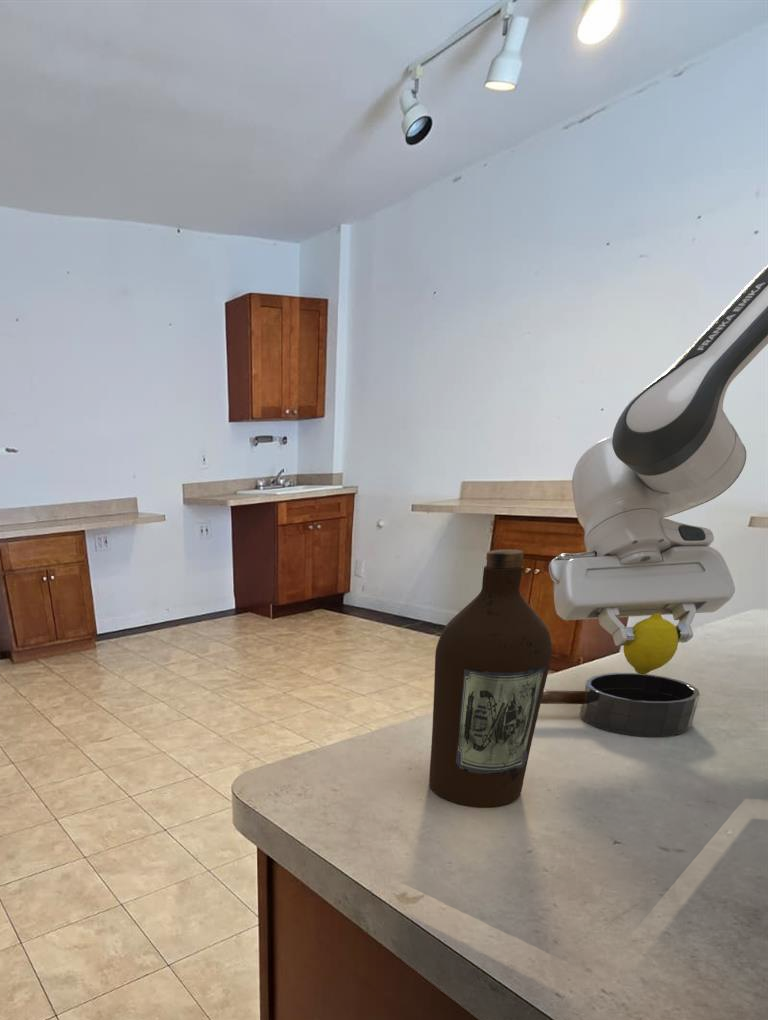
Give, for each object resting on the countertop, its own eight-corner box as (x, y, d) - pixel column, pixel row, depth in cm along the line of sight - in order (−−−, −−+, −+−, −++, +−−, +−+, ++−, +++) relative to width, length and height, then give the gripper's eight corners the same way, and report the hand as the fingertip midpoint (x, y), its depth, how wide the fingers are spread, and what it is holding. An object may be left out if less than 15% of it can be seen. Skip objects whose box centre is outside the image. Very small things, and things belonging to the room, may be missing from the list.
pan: (666, 704, 88) (674, 672, 86) (708, 738, 77) (719, 703, 76) (568, 703, 91) (574, 672, 89) (596, 736, 80) (603, 702, 78)
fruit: (645, 683, 79) (661, 618, 75) (607, 671, 83) (620, 610, 80) (680, 676, 80) (697, 613, 76) (640, 665, 85) (655, 605, 81)
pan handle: (586, 701, 85) (589, 688, 85) (591, 706, 84) (593, 693, 83) (499, 700, 88) (501, 688, 87) (502, 705, 86) (504, 692, 86)
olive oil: (414, 767, 76) (433, 548, 65) (507, 765, 75) (542, 541, 64) (436, 811, 66) (462, 562, 56) (543, 810, 65) (591, 555, 54)
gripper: (556, 539, 82) (580, 633, 77) (725, 528, 80) (759, 623, 75) (536, 570, 88) (556, 658, 83) (692, 560, 86) (722, 650, 81)
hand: (654, 641), depth 79 cm, fingers closed on fruit, 5 cm apart
